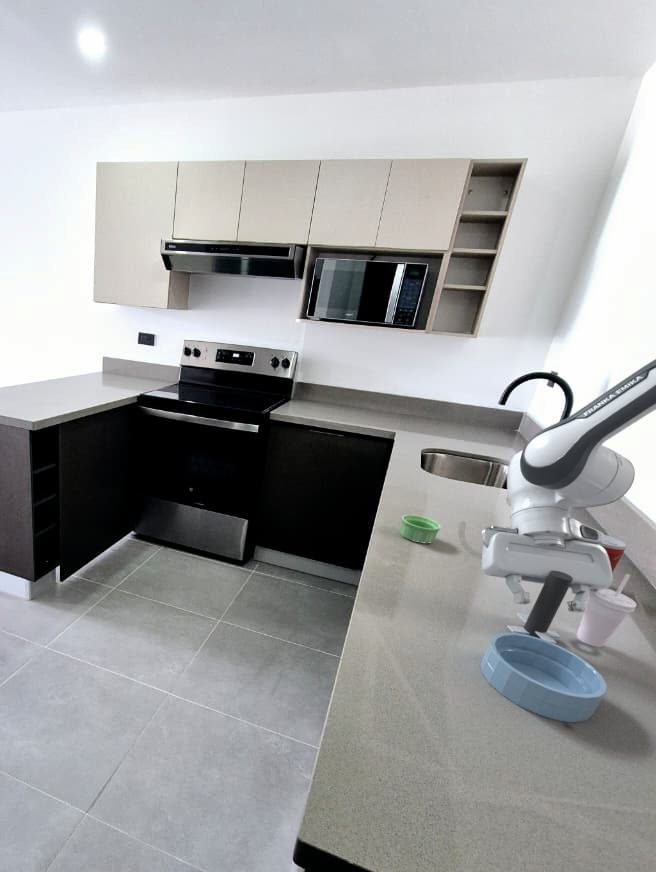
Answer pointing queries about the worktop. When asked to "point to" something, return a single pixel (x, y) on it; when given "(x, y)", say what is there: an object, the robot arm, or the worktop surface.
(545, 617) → the black cylinder
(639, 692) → the worktop surface
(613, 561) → the canned food
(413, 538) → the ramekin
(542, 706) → the shallow blue bowl
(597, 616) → the smoothie
